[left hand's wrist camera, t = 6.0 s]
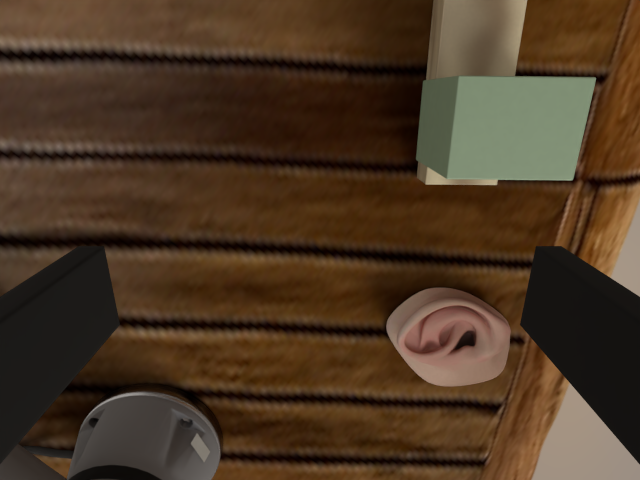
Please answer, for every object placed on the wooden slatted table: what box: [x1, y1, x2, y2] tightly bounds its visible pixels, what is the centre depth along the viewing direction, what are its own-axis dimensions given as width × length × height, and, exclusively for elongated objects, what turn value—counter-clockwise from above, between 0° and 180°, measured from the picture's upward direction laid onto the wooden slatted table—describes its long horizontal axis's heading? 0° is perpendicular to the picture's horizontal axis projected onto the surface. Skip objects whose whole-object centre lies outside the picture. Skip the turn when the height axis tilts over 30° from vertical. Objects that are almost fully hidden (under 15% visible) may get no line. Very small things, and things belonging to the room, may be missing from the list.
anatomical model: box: [386, 288, 511, 386], centre depth 40 cm, size 13×4×12 cm
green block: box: [416, 75, 596, 180], centre depth 28 cm, size 8×6×8 cm
